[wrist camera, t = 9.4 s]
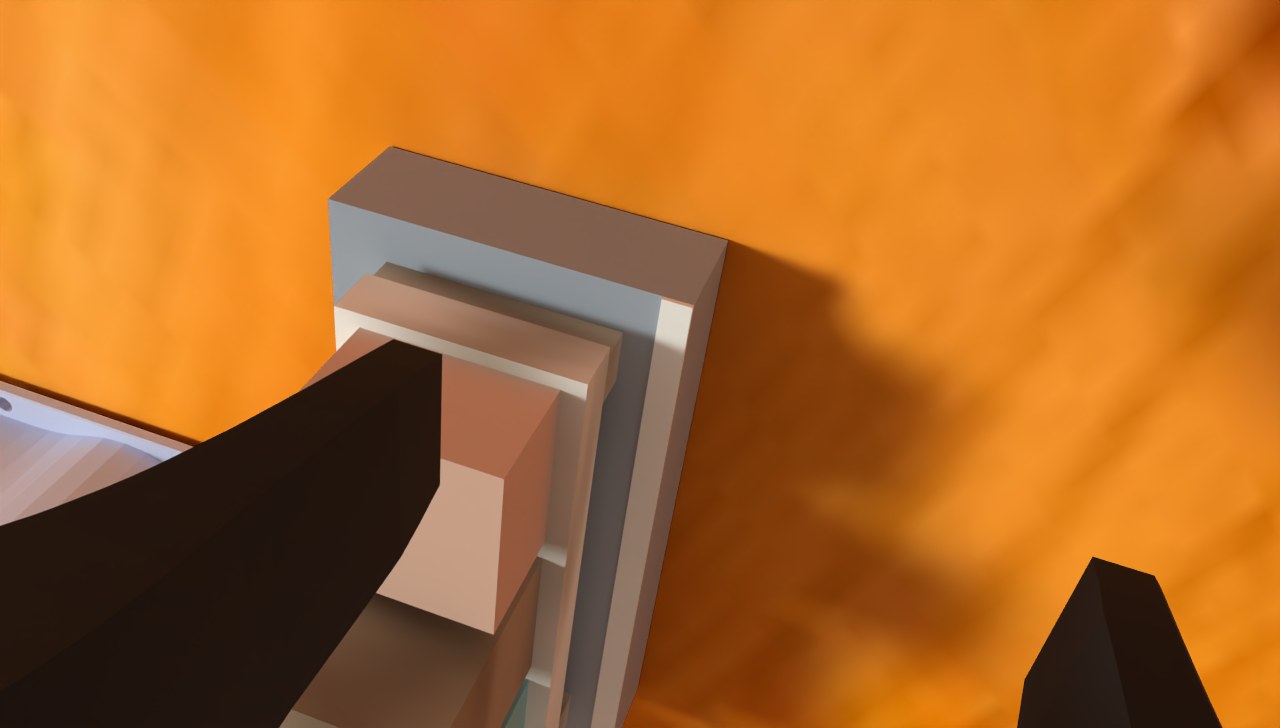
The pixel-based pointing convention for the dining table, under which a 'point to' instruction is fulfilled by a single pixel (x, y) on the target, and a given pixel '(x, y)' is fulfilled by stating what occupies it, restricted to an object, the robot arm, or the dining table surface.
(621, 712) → the dock
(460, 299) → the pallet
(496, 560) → the block
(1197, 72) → the dining table surface
